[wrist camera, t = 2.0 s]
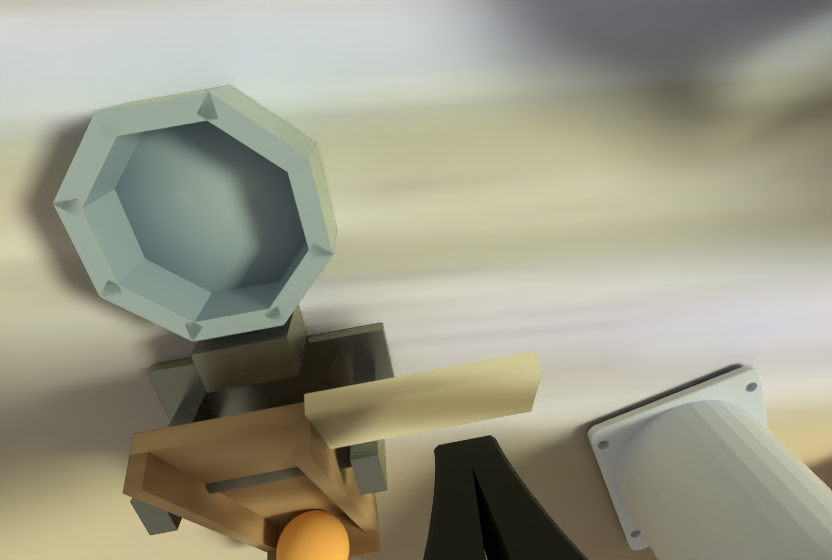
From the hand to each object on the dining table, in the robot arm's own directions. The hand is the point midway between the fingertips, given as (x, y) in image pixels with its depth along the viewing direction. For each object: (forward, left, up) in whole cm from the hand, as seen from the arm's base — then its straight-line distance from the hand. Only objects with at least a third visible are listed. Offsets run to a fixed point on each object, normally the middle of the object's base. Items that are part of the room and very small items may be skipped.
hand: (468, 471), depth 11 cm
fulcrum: (-1, +7, -9) cm, 11 cm away
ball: (-7, +9, -6) cm, 13 cm away
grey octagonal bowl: (+6, +5, -9) cm, 12 cm away
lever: (-3, +4, -6) cm, 8 cm away
